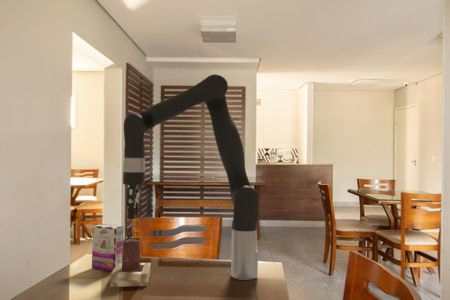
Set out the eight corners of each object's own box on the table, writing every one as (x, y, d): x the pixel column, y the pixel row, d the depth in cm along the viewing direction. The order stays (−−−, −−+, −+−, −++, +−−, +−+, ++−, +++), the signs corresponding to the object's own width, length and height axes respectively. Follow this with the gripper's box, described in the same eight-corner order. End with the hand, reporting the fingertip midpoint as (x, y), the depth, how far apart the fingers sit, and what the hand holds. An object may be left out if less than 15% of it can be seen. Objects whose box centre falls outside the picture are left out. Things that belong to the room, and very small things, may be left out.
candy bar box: (123, 268, 130) (124, 225, 130) (114, 272, 125) (115, 228, 125) (100, 264, 134) (101, 223, 134) (91, 268, 129) (92, 225, 130)
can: (135, 283, 114) (136, 242, 115) (118, 282, 116) (119, 240, 116) (143, 277, 120) (144, 238, 121) (126, 276, 122) (128, 237, 122)
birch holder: (150, 273, 125) (150, 262, 125) (147, 285, 113) (147, 273, 113) (117, 274, 123) (117, 263, 123) (110, 286, 111) (110, 274, 111)
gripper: (142, 171, 112) (141, 220, 112) (147, 170, 126) (146, 213, 126) (119, 171, 111) (118, 220, 111) (126, 170, 126) (125, 213, 125)
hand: (133, 216), depth 119 cm, fingers open, 8 cm apart
